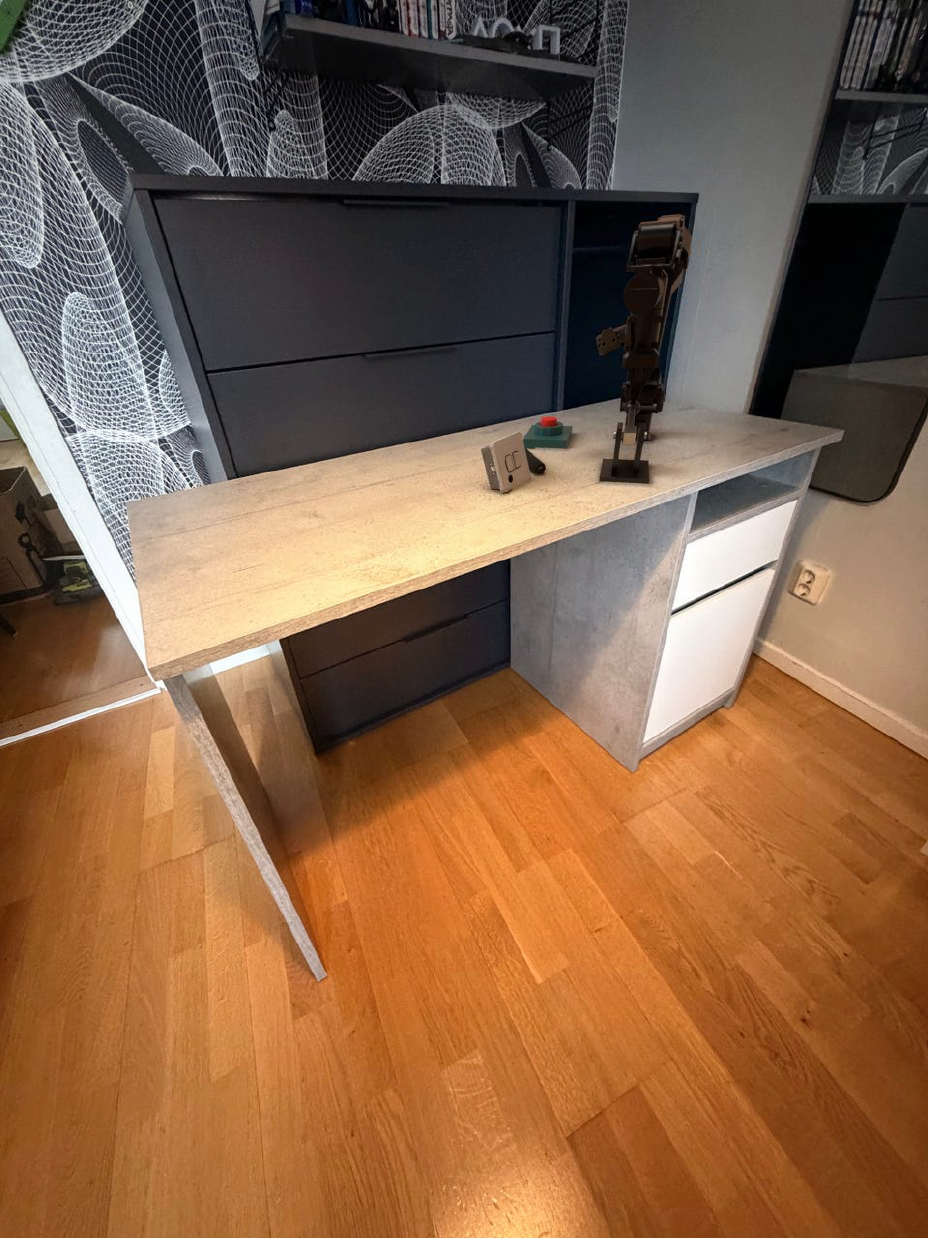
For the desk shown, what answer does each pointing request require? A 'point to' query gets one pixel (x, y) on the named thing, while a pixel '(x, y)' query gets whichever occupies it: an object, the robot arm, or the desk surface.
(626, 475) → the bracket
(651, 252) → the robot arm
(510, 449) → the electrical switch
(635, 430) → the lever
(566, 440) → the button block
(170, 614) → the desk surface
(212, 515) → the desk surface
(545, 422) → the button
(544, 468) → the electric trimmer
